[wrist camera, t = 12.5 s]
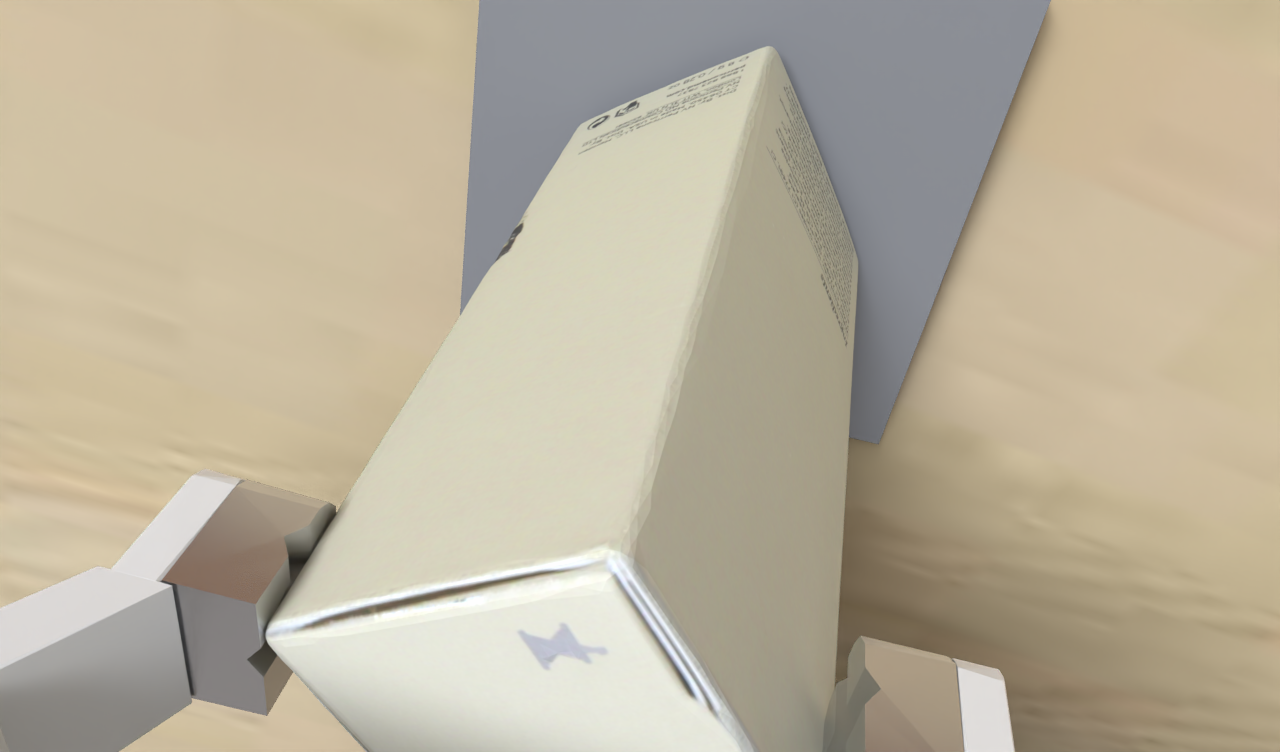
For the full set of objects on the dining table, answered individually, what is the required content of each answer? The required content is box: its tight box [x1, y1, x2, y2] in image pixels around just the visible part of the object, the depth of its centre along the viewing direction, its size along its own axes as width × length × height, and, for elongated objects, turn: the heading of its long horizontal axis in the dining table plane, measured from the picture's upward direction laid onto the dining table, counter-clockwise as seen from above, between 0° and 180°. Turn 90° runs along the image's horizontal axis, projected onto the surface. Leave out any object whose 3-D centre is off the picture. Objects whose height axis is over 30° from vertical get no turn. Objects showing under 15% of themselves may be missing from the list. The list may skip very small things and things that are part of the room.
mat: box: [460, 0, 1051, 444], centre depth 21 cm, size 10×10×1 cm
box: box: [265, 46, 858, 752], centre depth 15 cm, size 5×4×13 cm
